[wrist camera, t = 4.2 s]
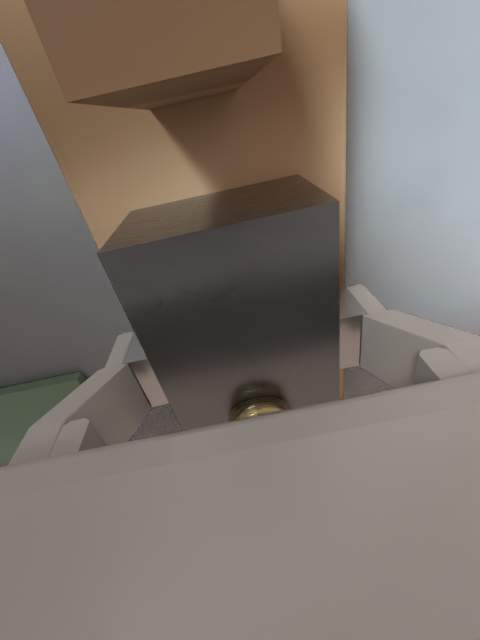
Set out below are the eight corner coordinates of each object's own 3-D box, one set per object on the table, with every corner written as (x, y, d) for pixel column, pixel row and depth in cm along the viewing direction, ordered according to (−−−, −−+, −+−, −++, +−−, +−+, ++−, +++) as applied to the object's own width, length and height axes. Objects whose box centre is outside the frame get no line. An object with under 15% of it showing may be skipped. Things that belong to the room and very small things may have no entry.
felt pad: (-64, 401, 16) (-73, 410, 16) (80, 371, 16) (76, 379, 16) (23, 478, 21) (19, 487, 20) (137, 456, 21) (135, 464, 20)
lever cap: (130, 211, 8) (86, 266, 5) (298, 174, 8) (353, 209, 5) (205, 406, 13) (205, 497, 10) (313, 385, 12) (346, 470, 9)
